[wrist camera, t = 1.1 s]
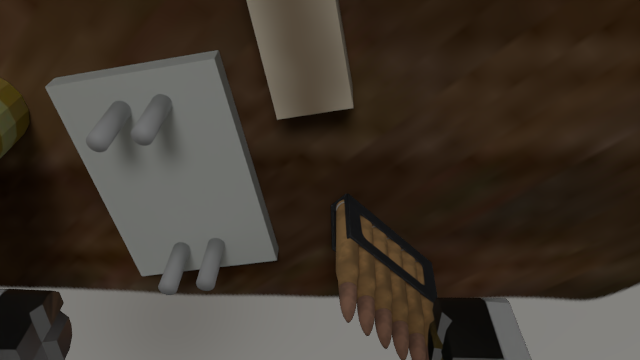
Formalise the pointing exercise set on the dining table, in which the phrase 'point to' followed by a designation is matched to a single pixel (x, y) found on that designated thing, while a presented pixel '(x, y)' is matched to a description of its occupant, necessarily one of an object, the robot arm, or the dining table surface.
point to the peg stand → (170, 165)
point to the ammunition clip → (382, 279)
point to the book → (11, 116)
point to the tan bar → (303, 55)
